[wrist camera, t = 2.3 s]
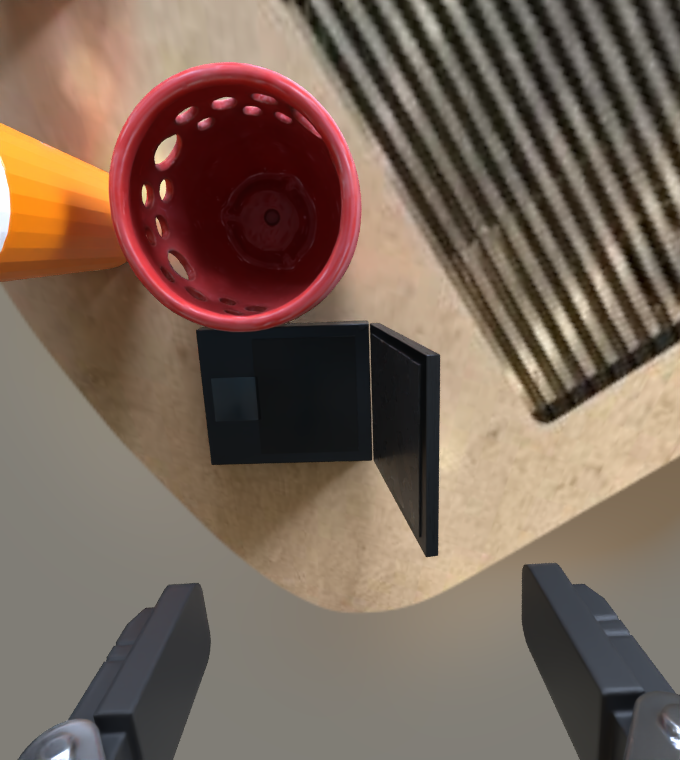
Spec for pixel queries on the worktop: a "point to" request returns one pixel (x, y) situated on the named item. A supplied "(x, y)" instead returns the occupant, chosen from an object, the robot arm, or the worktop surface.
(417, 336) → the worktop surface
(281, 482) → the worktop surface
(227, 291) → the flower pot
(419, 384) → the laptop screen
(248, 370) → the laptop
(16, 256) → the shaker bottle
